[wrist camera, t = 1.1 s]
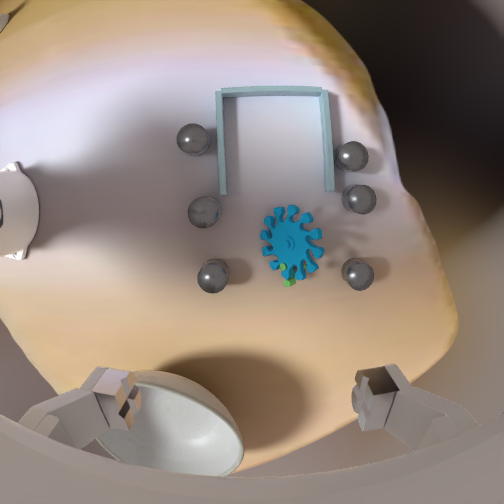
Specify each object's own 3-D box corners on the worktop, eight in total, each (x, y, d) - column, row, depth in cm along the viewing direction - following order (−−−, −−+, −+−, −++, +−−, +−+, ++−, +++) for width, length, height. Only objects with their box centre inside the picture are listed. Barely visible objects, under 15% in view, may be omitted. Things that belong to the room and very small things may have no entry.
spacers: (193, 292, 42) (189, 300, 39) (182, 130, 37) (176, 125, 34) (364, 282, 42) (372, 289, 39) (362, 126, 37) (371, 122, 34)
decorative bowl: (86, 356, 45) (57, 391, 34) (208, 322, 44) (195, 365, 32) (154, 446, 51) (141, 484, 39) (264, 428, 49) (267, 474, 37)
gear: (259, 199, 38) (323, 214, 32) (286, 196, 42) (346, 210, 36) (254, 274, 42) (310, 300, 35) (280, 264, 46) (333, 286, 39)
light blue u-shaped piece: (221, 195, 39) (219, 195, 37) (217, 93, 36) (215, 88, 34) (330, 191, 39) (334, 191, 37) (323, 91, 36) (327, 87, 34)
